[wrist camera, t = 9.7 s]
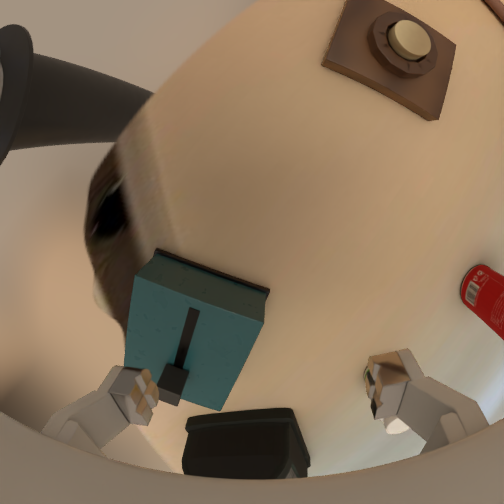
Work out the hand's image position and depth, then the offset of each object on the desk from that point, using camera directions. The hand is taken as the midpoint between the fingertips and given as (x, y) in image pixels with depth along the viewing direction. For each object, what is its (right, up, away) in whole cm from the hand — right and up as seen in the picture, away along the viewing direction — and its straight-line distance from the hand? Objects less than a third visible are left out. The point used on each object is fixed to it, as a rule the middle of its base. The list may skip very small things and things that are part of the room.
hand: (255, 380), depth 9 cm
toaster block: (-7, -4, +22) cm, 24 cm away
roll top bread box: (0, -28, +31) cm, 42 cm away
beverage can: (+28, +1, +18) cm, 34 cm away
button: (+13, +23, +7) cm, 27 cm away
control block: (+14, +24, +11) cm, 30 cm away
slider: (-8, -8, +17) cm, 21 cm away
